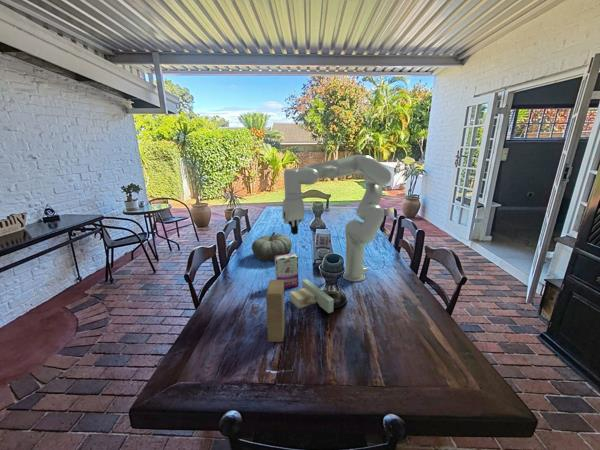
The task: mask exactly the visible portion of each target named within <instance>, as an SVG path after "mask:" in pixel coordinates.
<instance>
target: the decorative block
mask: <svg viewBox="0 0 600 450" xmlns="http://www.w3.org/2000/svg"><path fill="white" fill-rule="evenodd" d="M284 297H285V288H284V280H276V279H270V280H269V283H268V286H267V289H266V293H265V299H266V300H265V302H266V304H265V305H266V325H267V342H269V343H283V341H284V336H285V335H284V334H285V328H286V327H285V325H286V320H285V319H286V315H285V314H284Z"/></svg>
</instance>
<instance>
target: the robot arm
mask: <svg viewBox="0 0 600 450" xmlns="http://www.w3.org/2000/svg"><path fill="white" fill-rule="evenodd" d="M358 173H359V174H362V177H363V180H364V183H365V192H364V194H363V196H362V199H361V200H360V201H359V202H360V203H359V205H358V206H357V208H356V212H355V213H356V216H357V217H358V219H360V220H362V221H363V222H362V221H360V220H358V219H352V220H350V221H348V222H347V223H346V225H345V228H344V232H345V233H344V234H345V258H344V259H345V264H344V271H345V273H344V275H343V277H342V278H343V279H344V280H346V281H347V282H348V281H349V282H354V283H355V282H361V281H363V280H365V279H366V273H365V272H368V271H369V270H370V267H368V266H366V267H364V257H365V245H367V244H369V243H371V242H372V241H373V240H374V239H375V237H376V235H377V234H378V231H379V229H380V227H381V226H382V223H383V222H384V218H385V211H384V208H382V207H381V206H380V205H379V204H380V201H381V199H382V197H383V186H387V185H388V184H389V183H390V182H391V180H392V173H391V171H390V169H388V167H386V166H385V165H383V164H382V163H381V162H379V161H377V159H375V158H373V157H372V156H370V155H367V154H354V155H349V156H346V157H342V158H337V159H336V158H335V159H331V160H326V161H323V162H316V163H311V164H307V165H303V166H300V167H299V168H287V169H285V170H284V171H283V182H284V199H283V201H282V211H281V212H282V214H281V215H282V220H283V223H284V225H285V224H286V225H289V226H290V232H291V234H292V235H295V236H296V235H298V232H299V225H300V223H301V222H303V221H304V220H305V205H304V204H305V203H304V199H303V198H302V196H303V195H304V192H302V185H306V186H312V185H314V184H316V183H318V181H319V179H325V178H326V179H336V178H342V177H345V176H349V175H353V174H358Z"/></svg>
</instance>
